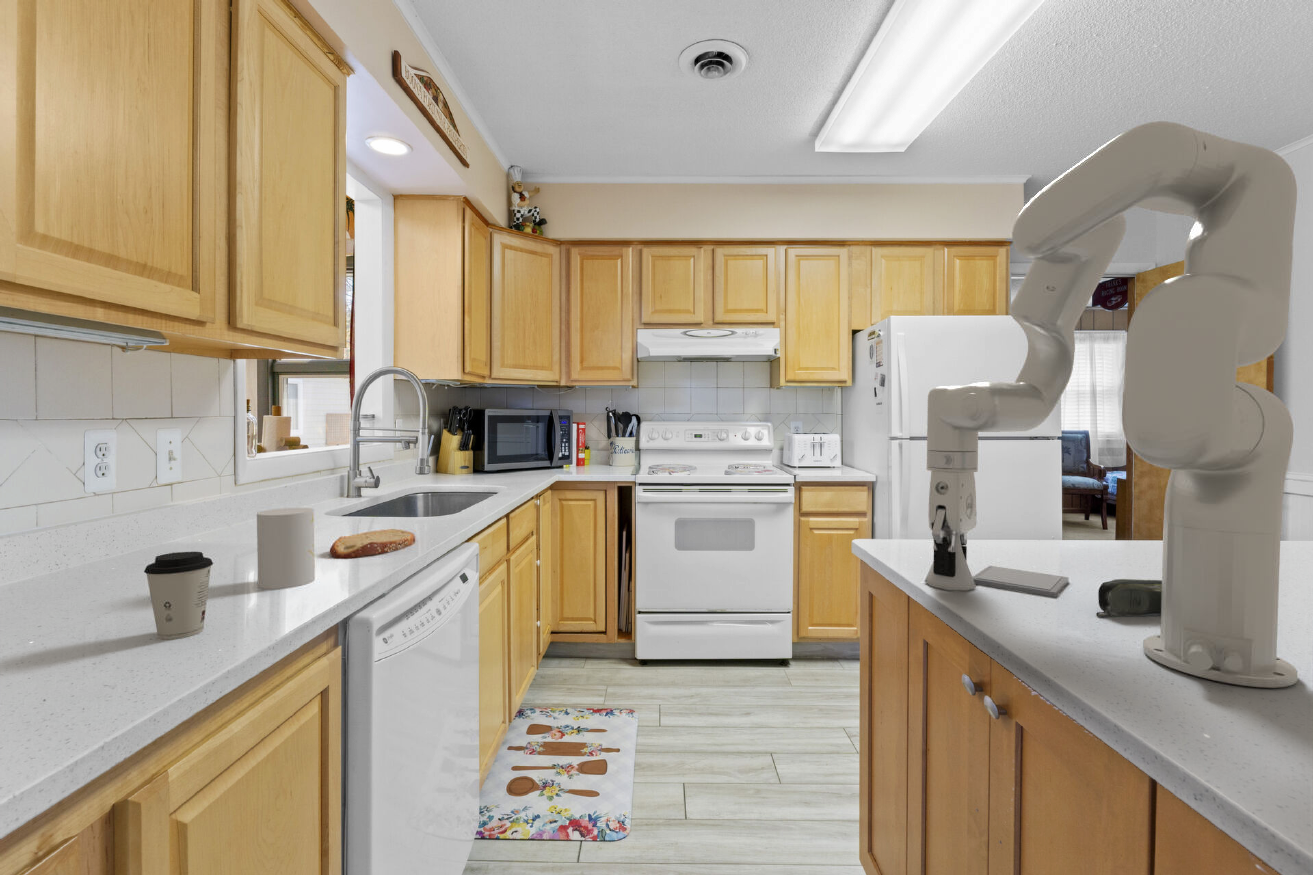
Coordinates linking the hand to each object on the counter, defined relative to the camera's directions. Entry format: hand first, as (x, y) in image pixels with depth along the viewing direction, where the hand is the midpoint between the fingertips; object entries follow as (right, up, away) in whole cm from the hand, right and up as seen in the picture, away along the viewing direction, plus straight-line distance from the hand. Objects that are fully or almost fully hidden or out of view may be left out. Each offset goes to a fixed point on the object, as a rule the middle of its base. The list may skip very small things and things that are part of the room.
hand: (950, 570), depth 99 cm
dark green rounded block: (+20, -3, -14) cm, 25 cm away
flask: (0, -3, 0) cm, 3 cm away
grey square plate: (+13, -2, +2) cm, 13 cm away
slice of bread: (-109, -2, +30) cm, 113 cm away
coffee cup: (-109, -3, -22) cm, 112 cm away
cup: (-110, -3, +2) cm, 111 cm away
